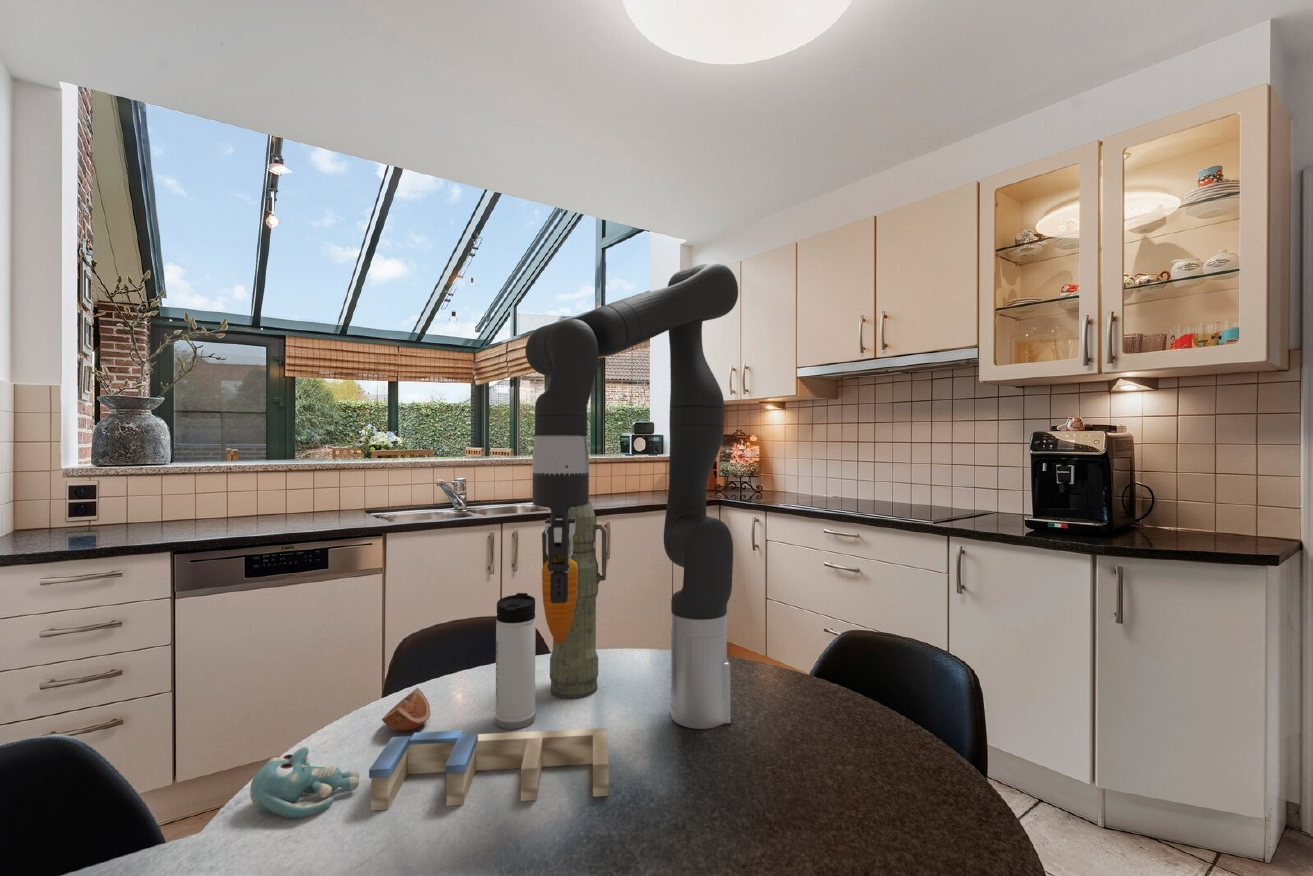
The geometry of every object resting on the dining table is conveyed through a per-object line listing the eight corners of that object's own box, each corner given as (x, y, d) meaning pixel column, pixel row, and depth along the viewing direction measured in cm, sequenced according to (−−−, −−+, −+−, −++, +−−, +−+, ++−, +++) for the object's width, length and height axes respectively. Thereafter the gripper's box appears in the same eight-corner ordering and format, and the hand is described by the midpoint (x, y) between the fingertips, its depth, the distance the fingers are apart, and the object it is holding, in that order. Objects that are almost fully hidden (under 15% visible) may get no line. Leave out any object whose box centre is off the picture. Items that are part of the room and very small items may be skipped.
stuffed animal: (365, 766, 73) (250, 769, 68) (351, 827, 72) (235, 834, 67) (367, 729, 83) (267, 729, 78) (355, 783, 82) (254, 786, 77)
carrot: (584, 641, 81) (585, 530, 81) (567, 652, 76) (568, 535, 77) (552, 637, 83) (553, 529, 83) (533, 648, 78) (534, 533, 78)
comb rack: (606, 755, 86) (606, 720, 86) (608, 796, 76) (608, 756, 76) (396, 767, 83) (396, 730, 83) (368, 811, 72) (369, 770, 73)
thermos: (541, 682, 113) (542, 498, 114) (603, 678, 115) (604, 497, 116) (540, 701, 105) (541, 501, 105) (607, 696, 107) (608, 501, 108)
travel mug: (540, 712, 100) (541, 593, 101) (528, 730, 94) (528, 602, 94) (504, 710, 101) (505, 592, 101) (489, 729, 94) (490, 601, 95)
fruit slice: (416, 741, 90) (416, 708, 90) (371, 741, 90) (372, 708, 90) (436, 717, 98) (436, 686, 99) (396, 717, 98) (396, 686, 99)
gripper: (588, 471, 73) (588, 611, 73) (589, 468, 88) (588, 585, 87) (526, 471, 73) (525, 612, 72) (537, 468, 87) (536, 586, 86)
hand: (560, 596), depth 80 cm, fingers closed on carrot, 4 cm apart
